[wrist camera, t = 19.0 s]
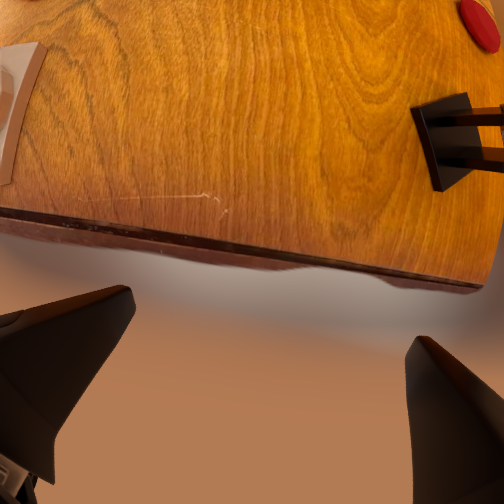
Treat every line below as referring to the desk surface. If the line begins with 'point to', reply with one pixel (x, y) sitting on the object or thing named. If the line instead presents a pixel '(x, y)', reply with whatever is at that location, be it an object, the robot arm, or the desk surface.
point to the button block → (15, 96)
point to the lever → (502, 132)
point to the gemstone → (480, 25)
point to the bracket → (456, 138)
